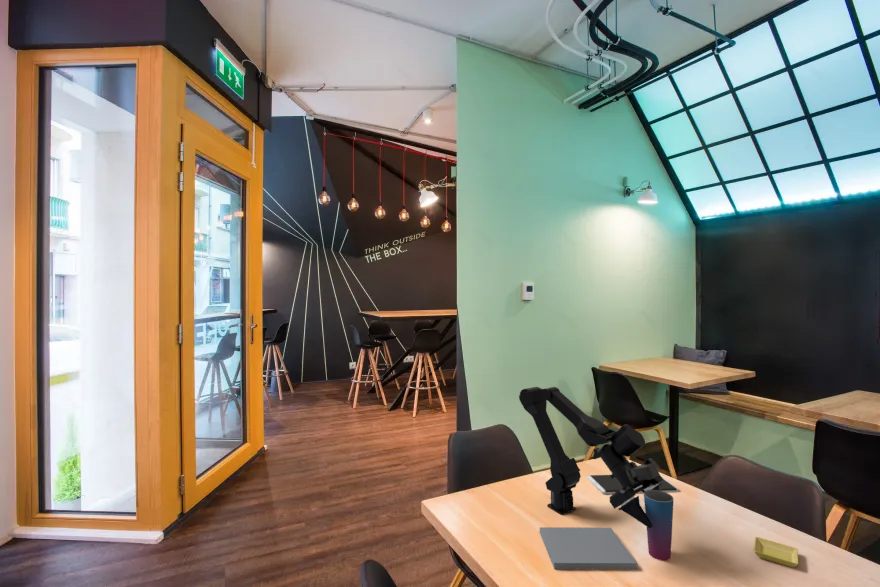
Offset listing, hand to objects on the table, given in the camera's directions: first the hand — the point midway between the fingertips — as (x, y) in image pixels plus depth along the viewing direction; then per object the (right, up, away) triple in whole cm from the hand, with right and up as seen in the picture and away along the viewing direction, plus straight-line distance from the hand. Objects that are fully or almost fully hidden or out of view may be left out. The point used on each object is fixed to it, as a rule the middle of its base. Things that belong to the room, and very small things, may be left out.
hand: (660, 521), depth 107 cm
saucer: (+29, -9, -1) cm, 30 cm away
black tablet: (+12, -10, +41) cm, 44 cm away
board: (-19, -9, +2) cm, 21 cm away
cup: (0, -9, 0) cm, 9 cm away
